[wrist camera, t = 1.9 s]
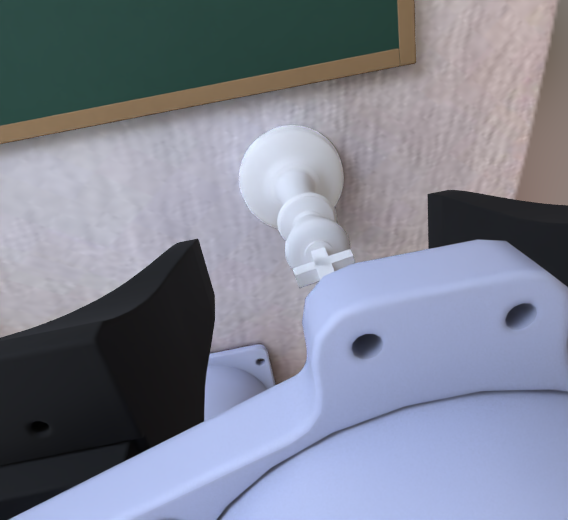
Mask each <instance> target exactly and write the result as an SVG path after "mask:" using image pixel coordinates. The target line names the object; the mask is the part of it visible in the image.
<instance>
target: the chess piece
mask: <svg viewBox="0 0 568 520" xmlns="http://www.w3.org/2000/svg"><path fill="white" fill-rule="evenodd" d="M343 183H344V174H343V167H342V163H341V160H340V157H339V154H338V152H337V150H336V149H335V147H334V146H333V144H332V143H331V142H330V141H329V140H328V139H327V138H326V137H325V136H324V135H322V134H321V133H319V132H317V131H315V130H313V129H311V128H308V127H305V126H299V125H286V126H280V127H277V128H274V129H271V130H269V131H267V132H265V133H264V134H262V135H261V136H260V137H258V138H257V139H256V140H255V141H254V142H253V143H252V144H251V145H250V147H249V148H248V150H247V151H246V153H245V155H244V157H243V159H242V162H241V165H240V170H239V185H240V190H241V194H242V197H243V199H244V201H245V203H246V205H247V207H248V208H249V210H250V211H251V212H252V213H253V215H254V216H255V217H256V218H258V219H259V220H260V221H261V222H263V223H264V224H266V225H268V226H270V227H273V228H276V229H278V230H279V233H280V235H281V236H282V238H283V239H284V240H285V241H286V245H285V256H286V260H287V262H288V264H289V266H290V267H291V268H292V269H293V270H294V275H295V278H296V280H297V283H298V286H299V288H302V287H305V286H308V285H311V284H314V283H317V282H319V281H320V280H321V279H322V277H323V276H325V275H328V274H330V273H332V272H334V271H337V270H339V269H341V268H343V267H346V266H348V265H350V264H354V263H355V260H354V257H353V254H352V252H351V251H350V241H349V237H348V235H347V233H346V232H345V230H344V229H343V228H342V227H341V226H340V225H339V224H338V223H337V215H336V211H335V208H334V207H335V206H336V204H337V202H338V200H339V198H340V196H341V193H342V189H343Z"/></svg>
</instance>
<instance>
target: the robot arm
mask: <svg viewBox="0 0 568 520" xmlns="http://www.w3.org/2000/svg"><path fill="white" fill-rule="evenodd" d="M428 240H429V249H426V250H421V251H416V252H411V253H405V254H400V255H395V256H390V257H385V258H380V259H375V260H369V261H364V262H359V263H354V264H350V265H348V266H346V267H343V268H341V269H339V270H337V271H334V272H332V273H330V274H328V275H325V276H323V277H322V279H321V280H320V281H319V282H318V283H317V285H316V286H315V287H314V288H313V290H312V291H311V292H310V293H309V294H308V296H307V297H306V298H305V305H304V313H303V320H302V324H303V330H304V335H305V340H306V346H307V360H306V363H305V366H304V367H303V369H302V370H301V371H300V372H299V373H298V374H297V375H295V376H293V377H291V378H289V379H287V380H285V381H283V382H281V383H279V384H277V385H276V384H275V380H274V376H273V372H272V368H271V364H270V360H269V355H268V351H267V349H266V347H265V346H264V345H260V344H258V345H252V346H247V347H242V348H237V349H231V350H226V351H221V352H216V353H211V354H210V348H211V342H212V335H213V329H214V321H215V294H214V291H213V288H212V284H211V281H210V277H209V274H208V271H207V267H206V264H205V260H204V257H203V254H202V250H201V247H200V243H199V240H198V239H194V240H189V241H184V242H179V243H177V244H175V245H173V246H172V247H171V248H169V249H168V250H167V251H166V252H164V253H163V254H162V255H161V256H160V257H158V258H157V259H156V260H155V261H153V262H152V263H151V264H150V265H149V266H147V267H146V268H145V269H143V270H142V271H141V272H139V273H138V274H137V275H135V276H134V277H133V278H131V279H130V280H129V281H127V282H126V283H124V284H123V285H121V286H120V287H118V288H117V289H115V290H114V291H112V292H110V293H109V294H107V295H105V296H103V297H102V298H100V299H98V300H96V301H94V302H92V303H90V304H88V305H86V306H84V307H82V308H80V309H78V310H76V311H74V312H72V313H69V314H67V315H65V316H62V317H60V318H57V319H55V320H53V321H50V322H47V323H45V324H42V325H39V326H36V327H34V328H31V329H28V330H25V331H22V332H18V333H15V334H12V335H8V336H5V337H2V338H0V520H568V206H566V205H552V204H542V203H534V202H526V201H519V200H513V199H507V198H501V197H495V196H490V195H484V194H479V193H473V192H467V191H458V190H446V191H441V192H436V193H431V194H428ZM257 359H264V360H263V361H258V360H257Z"/></svg>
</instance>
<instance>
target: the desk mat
mask: <svg viewBox="0 0 568 520" xmlns="http://www.w3.org/2000/svg"><path fill="white" fill-rule="evenodd" d="M414 63H416V44H415V4H414V0H0V144H3V143H8V142H13V141H19V140H24V139H29V138H34V137H39V136H44V135H49V134H55V133H60V132H65V131H70V130H75V129H80V128H85V127H90V126H96V125H101V124H106V123H111V122H116V121H121V120H126V119H132V118H137V117H142V116H147V115H152V114H157V113H162V112H168V111H173V110H178V109H183V108H188V107H193V106H198V105H203V104H209V103H214V102H219V101H224V100H229V99H234V98H239V97H245V96H250V95H255V94H260V93H265V92H270V91H275V90H281V89H286V88H291V87H296V86H301V85H306V84H311V83H316V82H322V81H327V80H332V79H337V78H342V77H347V76H352V75H358V74H363V73H368V72H373V71H378V70H383V69H388V68H394V67H399V66H404V65H409V64H414Z"/></svg>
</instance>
